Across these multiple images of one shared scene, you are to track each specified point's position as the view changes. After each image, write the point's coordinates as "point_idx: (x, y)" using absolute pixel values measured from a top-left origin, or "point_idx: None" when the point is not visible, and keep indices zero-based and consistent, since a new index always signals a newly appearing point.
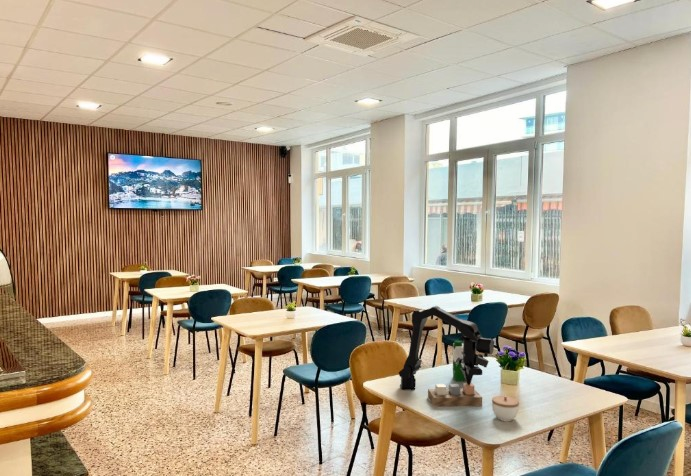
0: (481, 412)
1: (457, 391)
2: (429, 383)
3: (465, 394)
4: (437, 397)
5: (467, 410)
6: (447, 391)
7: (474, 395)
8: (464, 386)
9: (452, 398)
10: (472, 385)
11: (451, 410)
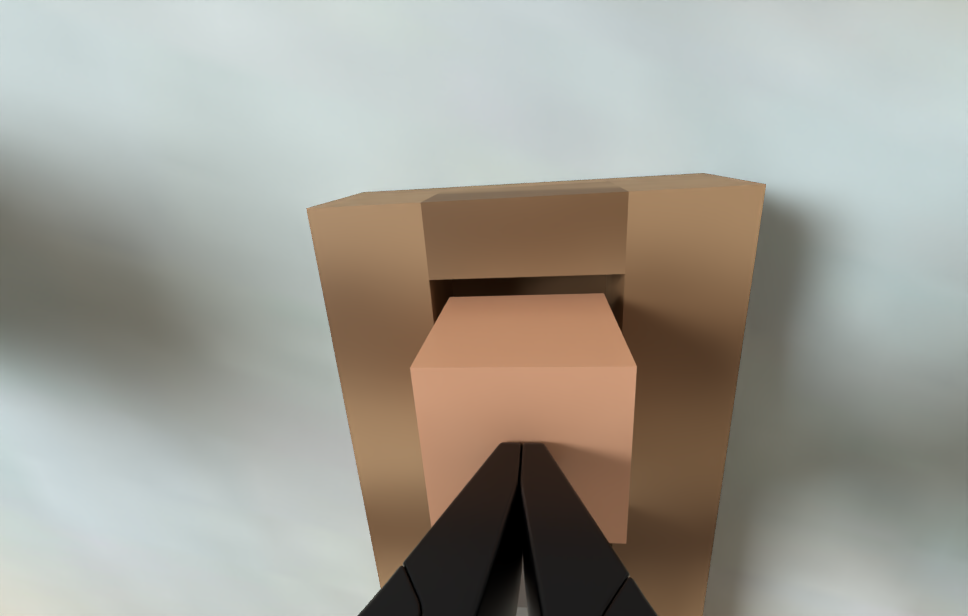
0: (931, 252)
1: None
2: (53, 537)
3: None
4: None
5: (816, 402)
6: None
7: (655, 304)
8: None
9: (698, 598)
10: (606, 404)
11: (777, 550)
